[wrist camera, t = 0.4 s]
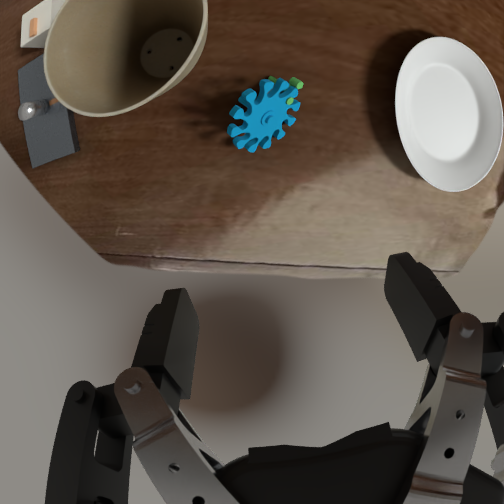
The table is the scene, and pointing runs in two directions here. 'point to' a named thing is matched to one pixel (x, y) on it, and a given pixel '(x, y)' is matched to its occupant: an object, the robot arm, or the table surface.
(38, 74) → the panel
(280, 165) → the table surface
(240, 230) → the table surface
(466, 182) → the bowl
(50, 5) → the white and orange block
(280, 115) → the gear
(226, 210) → the table surface
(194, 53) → the plant pot
